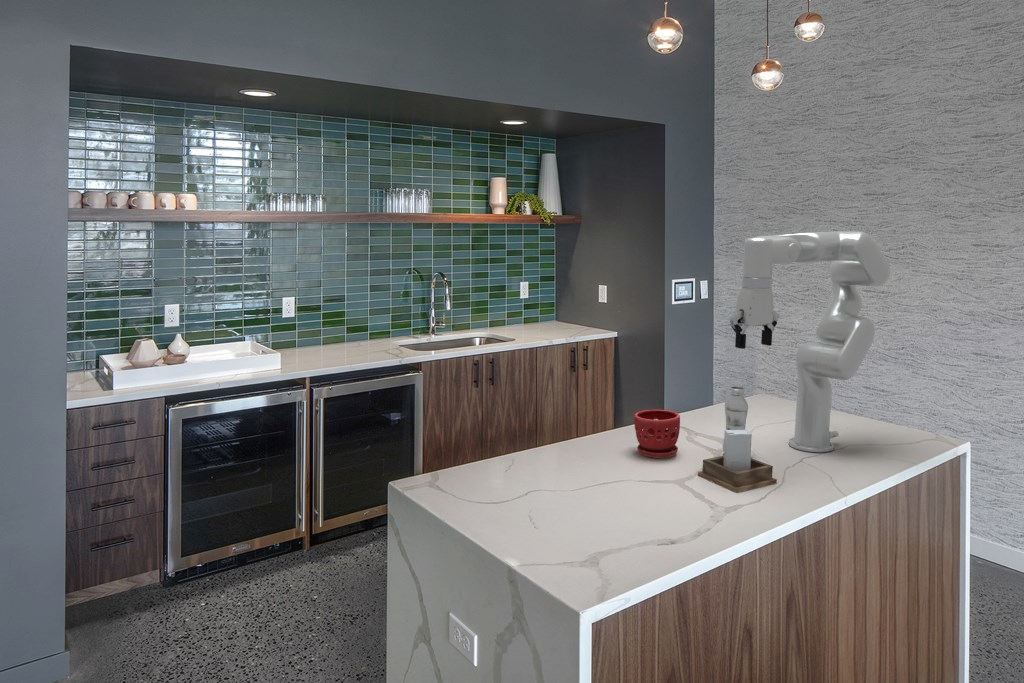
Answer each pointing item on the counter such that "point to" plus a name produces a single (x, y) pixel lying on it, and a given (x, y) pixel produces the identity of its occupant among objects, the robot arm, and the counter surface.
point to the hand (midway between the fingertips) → (753, 346)
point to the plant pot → (657, 432)
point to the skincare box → (737, 449)
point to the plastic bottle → (736, 410)
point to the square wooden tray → (737, 475)
